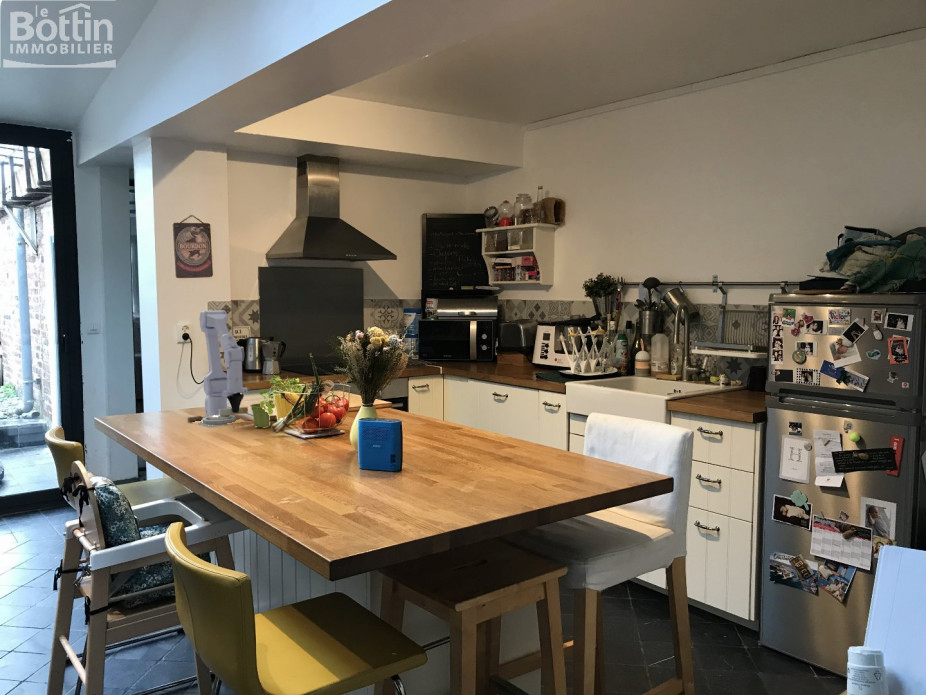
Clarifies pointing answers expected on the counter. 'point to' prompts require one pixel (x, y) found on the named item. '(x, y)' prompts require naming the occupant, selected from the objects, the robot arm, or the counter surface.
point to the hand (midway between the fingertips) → (235, 412)
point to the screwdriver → (195, 418)
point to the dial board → (217, 422)
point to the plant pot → (259, 416)
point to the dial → (227, 413)
